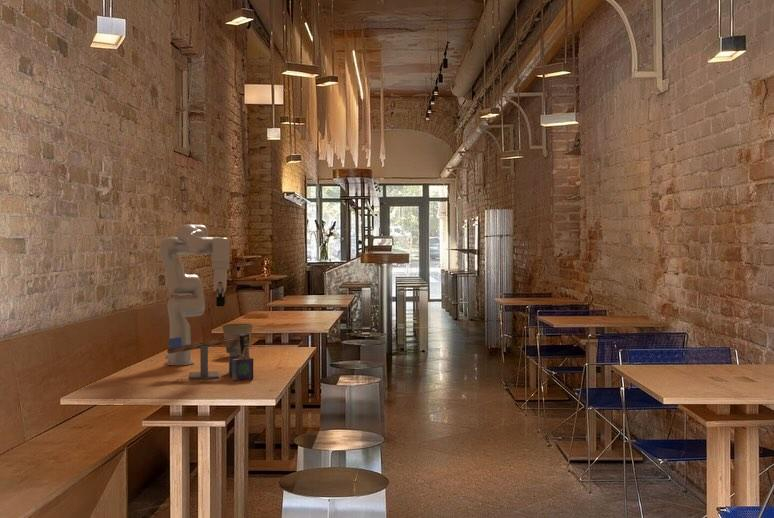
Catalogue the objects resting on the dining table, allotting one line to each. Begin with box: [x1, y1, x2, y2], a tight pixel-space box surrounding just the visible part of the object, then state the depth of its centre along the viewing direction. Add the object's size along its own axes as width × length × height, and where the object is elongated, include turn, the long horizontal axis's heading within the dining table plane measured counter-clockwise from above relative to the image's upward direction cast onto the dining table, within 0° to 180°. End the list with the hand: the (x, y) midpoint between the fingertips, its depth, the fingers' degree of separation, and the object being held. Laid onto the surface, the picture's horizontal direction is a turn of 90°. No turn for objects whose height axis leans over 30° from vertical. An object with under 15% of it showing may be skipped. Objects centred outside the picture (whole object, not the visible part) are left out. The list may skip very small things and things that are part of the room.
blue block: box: [168, 336, 183, 350], centre depth 356 cm, size 5×4×5 cm
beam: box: [167, 337, 241, 355], centre depth 358 cm, size 30×8×6 cm, turn 103°
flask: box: [231, 354, 254, 382], centre depth 350 cm, size 9×3×11 cm, turn 121°
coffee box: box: [228, 334, 250, 359], centre depth 376 cm, size 9×6×16 cm
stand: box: [189, 346, 236, 381], centre depth 359 cm, size 20×14×14 cm
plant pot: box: [222, 323, 253, 343], centre depth 423 cm, size 15×15×16 cm
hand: (220, 305), depth 365 cm, fingers open, 9 cm apart
